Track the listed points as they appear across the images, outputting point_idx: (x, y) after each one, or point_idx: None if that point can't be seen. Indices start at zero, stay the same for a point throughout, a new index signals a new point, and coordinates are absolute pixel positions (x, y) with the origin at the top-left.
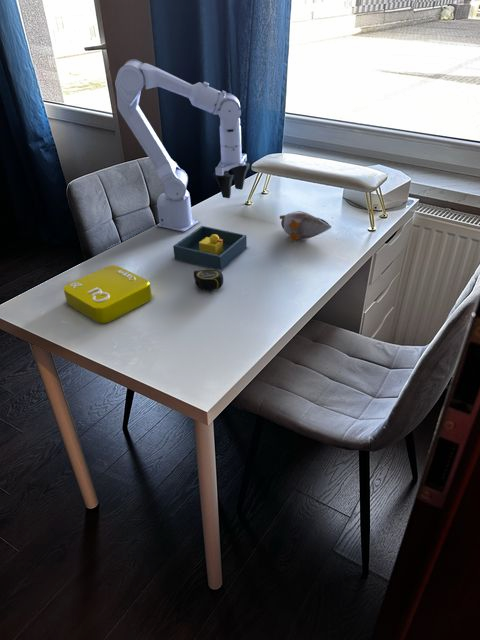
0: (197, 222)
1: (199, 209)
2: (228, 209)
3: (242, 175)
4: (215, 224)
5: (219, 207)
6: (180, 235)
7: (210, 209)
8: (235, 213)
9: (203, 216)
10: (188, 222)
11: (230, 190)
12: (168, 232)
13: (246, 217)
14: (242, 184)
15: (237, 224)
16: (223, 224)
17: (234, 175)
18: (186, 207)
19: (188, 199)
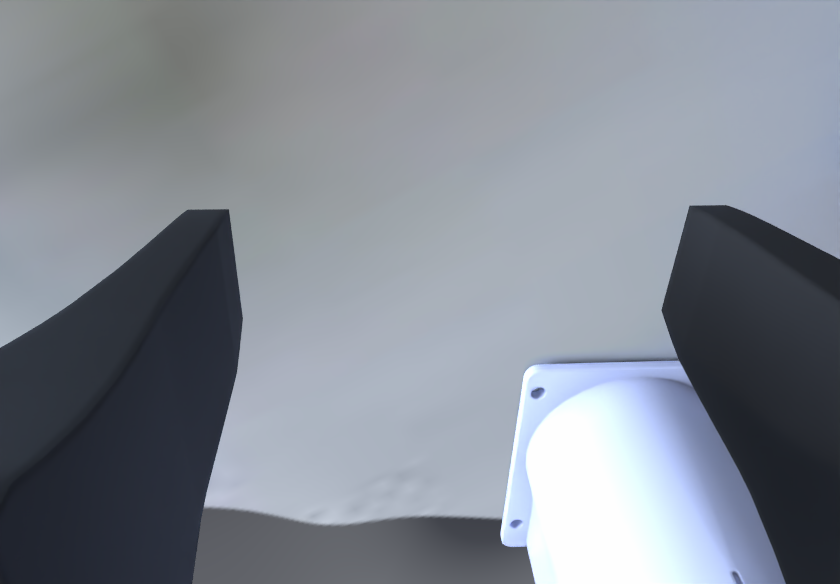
0: (547, 365)
1: (272, 474)
2: None
3: (147, 382)
4: (506, 227)
5: None
6: None
7: None
8: (160, 187)
9: (386, 389)
10: (672, 402)
11: (788, 257)
12: None
13: (182, 19)
14: (203, 246)
15: (417, 23)
16: (477, 161)
17: (190, 524)
18: (738, 517)
19: (723, 579)
